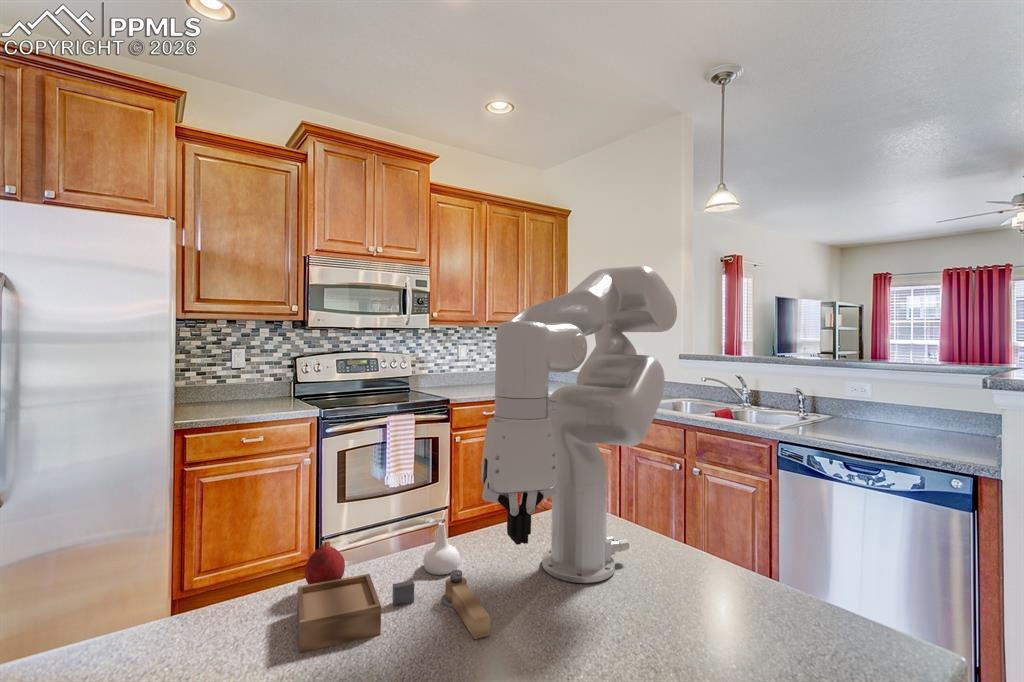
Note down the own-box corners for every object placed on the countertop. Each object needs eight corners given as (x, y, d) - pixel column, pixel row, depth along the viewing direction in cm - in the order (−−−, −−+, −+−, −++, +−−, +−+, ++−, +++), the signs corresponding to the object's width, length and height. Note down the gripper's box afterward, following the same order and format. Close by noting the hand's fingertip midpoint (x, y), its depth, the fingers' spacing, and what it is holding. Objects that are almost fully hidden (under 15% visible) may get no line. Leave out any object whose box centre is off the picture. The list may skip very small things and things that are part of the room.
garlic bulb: (466, 568, 88) (469, 522, 88) (445, 580, 82) (448, 530, 83) (437, 560, 91) (440, 515, 91) (415, 571, 85) (418, 523, 86)
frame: (463, 588, 80) (463, 562, 79) (474, 603, 75) (474, 576, 75) (392, 602, 75) (392, 575, 75) (399, 620, 70) (399, 591, 70)
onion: (331, 604, 74) (331, 550, 74) (296, 600, 75) (296, 547, 75) (351, 585, 80) (351, 535, 80) (318, 582, 81) (319, 532, 81)
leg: (442, 594, 77) (442, 578, 77) (462, 590, 78) (462, 574, 78) (470, 640, 65) (470, 620, 65) (493, 634, 67) (493, 615, 67)
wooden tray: (369, 598, 76) (369, 573, 76) (380, 634, 67) (381, 605, 67) (297, 612, 72) (297, 586, 72) (299, 652, 63) (299, 622, 63)
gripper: (558, 405, 76) (556, 526, 76) (462, 407, 71) (460, 536, 71) (581, 411, 69) (578, 544, 69) (477, 414, 64) (474, 558, 64)
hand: (518, 540), depth 70 cm, fingers closed
